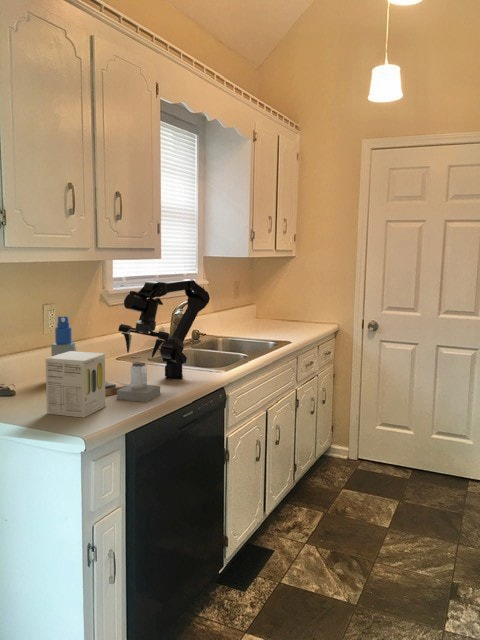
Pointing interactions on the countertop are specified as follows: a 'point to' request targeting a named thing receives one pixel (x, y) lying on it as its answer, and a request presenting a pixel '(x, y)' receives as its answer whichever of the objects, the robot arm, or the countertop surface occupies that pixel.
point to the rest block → (138, 393)
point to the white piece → (138, 376)
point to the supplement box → (75, 383)
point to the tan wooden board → (113, 387)
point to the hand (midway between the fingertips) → (140, 355)
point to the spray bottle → (62, 337)
